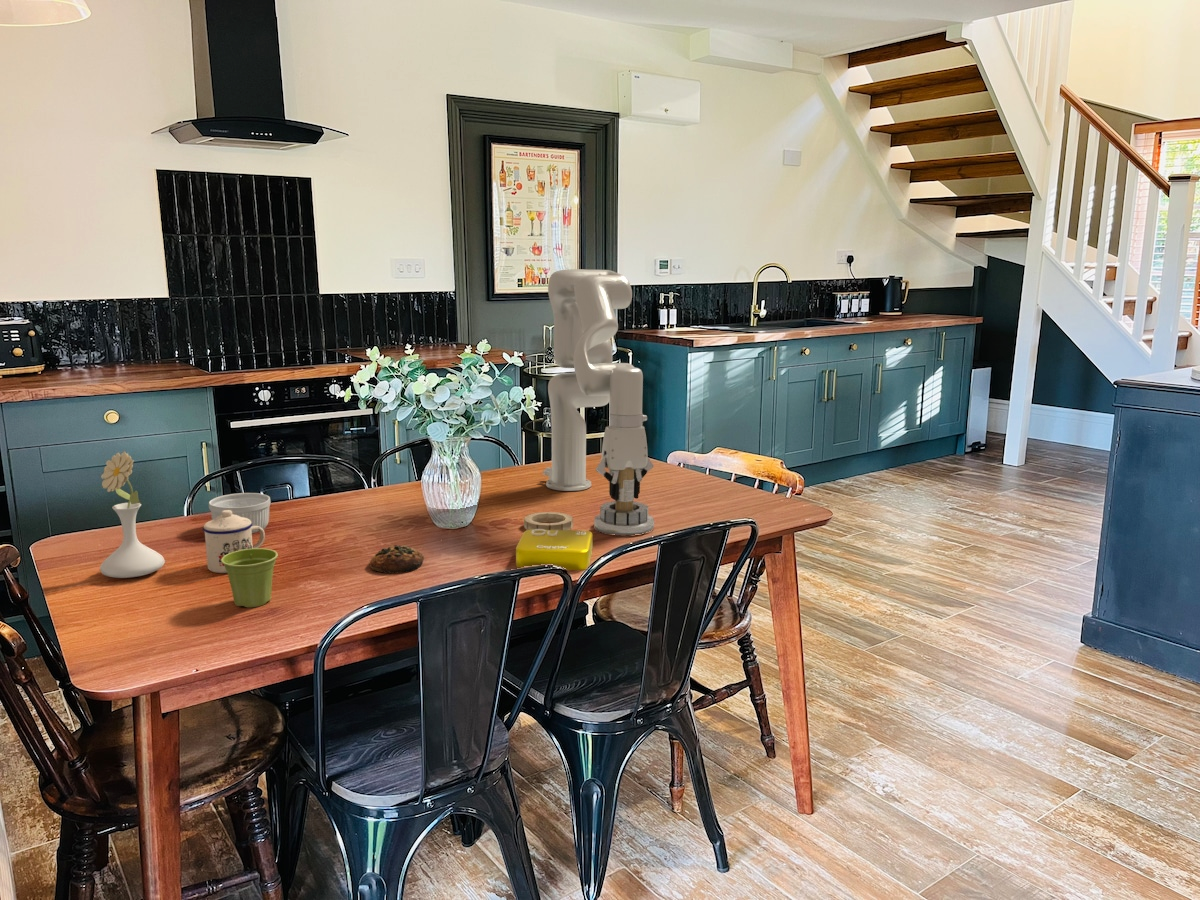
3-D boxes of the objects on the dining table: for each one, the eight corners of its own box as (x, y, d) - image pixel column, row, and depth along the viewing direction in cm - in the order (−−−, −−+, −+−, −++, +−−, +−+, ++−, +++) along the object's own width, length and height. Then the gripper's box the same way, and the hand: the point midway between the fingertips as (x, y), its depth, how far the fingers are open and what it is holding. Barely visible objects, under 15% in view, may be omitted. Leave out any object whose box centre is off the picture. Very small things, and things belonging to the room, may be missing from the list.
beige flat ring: (514, 527, 207) (514, 519, 207) (546, 517, 216) (546, 509, 215) (550, 536, 200) (550, 528, 200) (582, 525, 209) (582, 517, 208)
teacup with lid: (219, 577, 172) (214, 519, 170) (198, 566, 178) (193, 511, 176) (276, 562, 181) (273, 507, 179) (255, 553, 187) (251, 499, 184)
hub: (582, 528, 207) (582, 507, 206) (618, 515, 217) (618, 496, 216) (630, 540, 198) (630, 518, 197) (665, 526, 209) (666, 506, 208)
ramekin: (282, 528, 204) (280, 499, 203) (226, 541, 195) (224, 510, 194) (255, 517, 213) (253, 489, 212) (201, 528, 204) (198, 499, 202)
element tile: (514, 570, 179) (514, 547, 178) (525, 547, 194) (524, 526, 193) (588, 572, 178) (588, 549, 177) (593, 549, 193) (593, 528, 192)
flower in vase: (96, 571, 175) (82, 447, 170) (158, 560, 182) (147, 441, 177) (107, 590, 165) (93, 459, 160) (173, 577, 172) (161, 452, 167)
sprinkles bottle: (611, 511, 208) (612, 456, 206) (629, 510, 210) (630, 454, 207) (619, 516, 204) (619, 460, 202) (637, 515, 206) (638, 458, 203)
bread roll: (399, 577, 173) (396, 552, 172) (358, 575, 178) (355, 551, 178) (436, 563, 182) (433, 539, 182) (396, 561, 188) (393, 538, 188)
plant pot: (287, 604, 159) (284, 558, 157) (231, 615, 153) (228, 568, 152) (272, 589, 166) (269, 545, 164) (219, 599, 161) (215, 553, 159)
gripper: (651, 416, 209) (650, 491, 213) (585, 420, 203) (585, 497, 207) (665, 421, 202) (663, 498, 206) (597, 426, 196) (597, 505, 200)
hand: (624, 497), depth 206 cm, fingers closed on sprinkles bottle, 4 cm apart
